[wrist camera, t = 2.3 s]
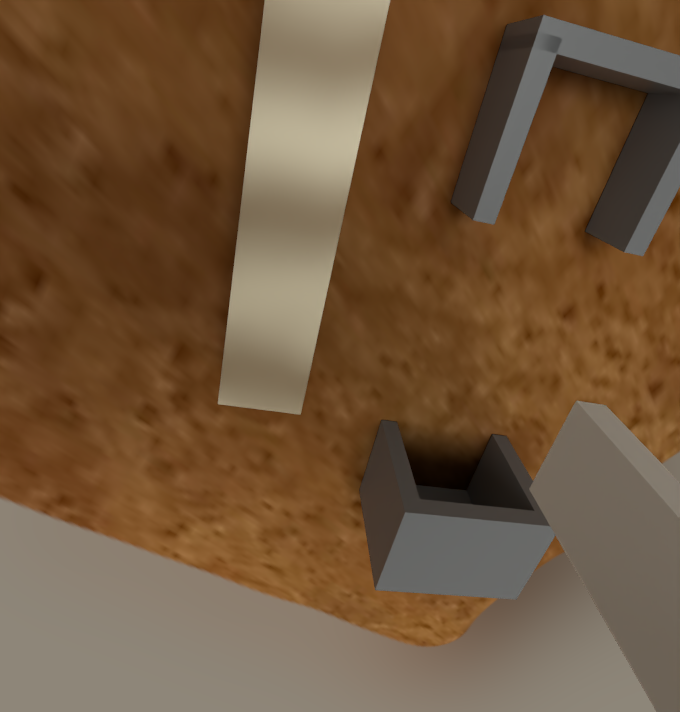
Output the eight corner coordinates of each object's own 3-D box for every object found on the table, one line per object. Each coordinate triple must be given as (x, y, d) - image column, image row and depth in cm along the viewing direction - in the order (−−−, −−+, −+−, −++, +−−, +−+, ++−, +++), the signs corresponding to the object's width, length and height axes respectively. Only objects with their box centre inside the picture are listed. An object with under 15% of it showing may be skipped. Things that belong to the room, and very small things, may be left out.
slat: (299, 363, 28) (300, 414, 24) (229, 353, 28) (217, 404, 23) (375, -13, 20) (398, -38, 16) (278, -41, 19) (273, -75, 15)
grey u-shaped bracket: (450, 202, 24) (473, 220, 21) (507, 24, 21) (543, 14, 18) (601, 235, 26) (643, 256, 23) (678, 74, 22) (739, 73, 19)
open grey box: (359, 490, 33) (375, 589, 27) (381, 419, 31) (405, 512, 24) (474, 502, 35) (516, 599, 28) (506, 436, 32) (560, 527, 25)
